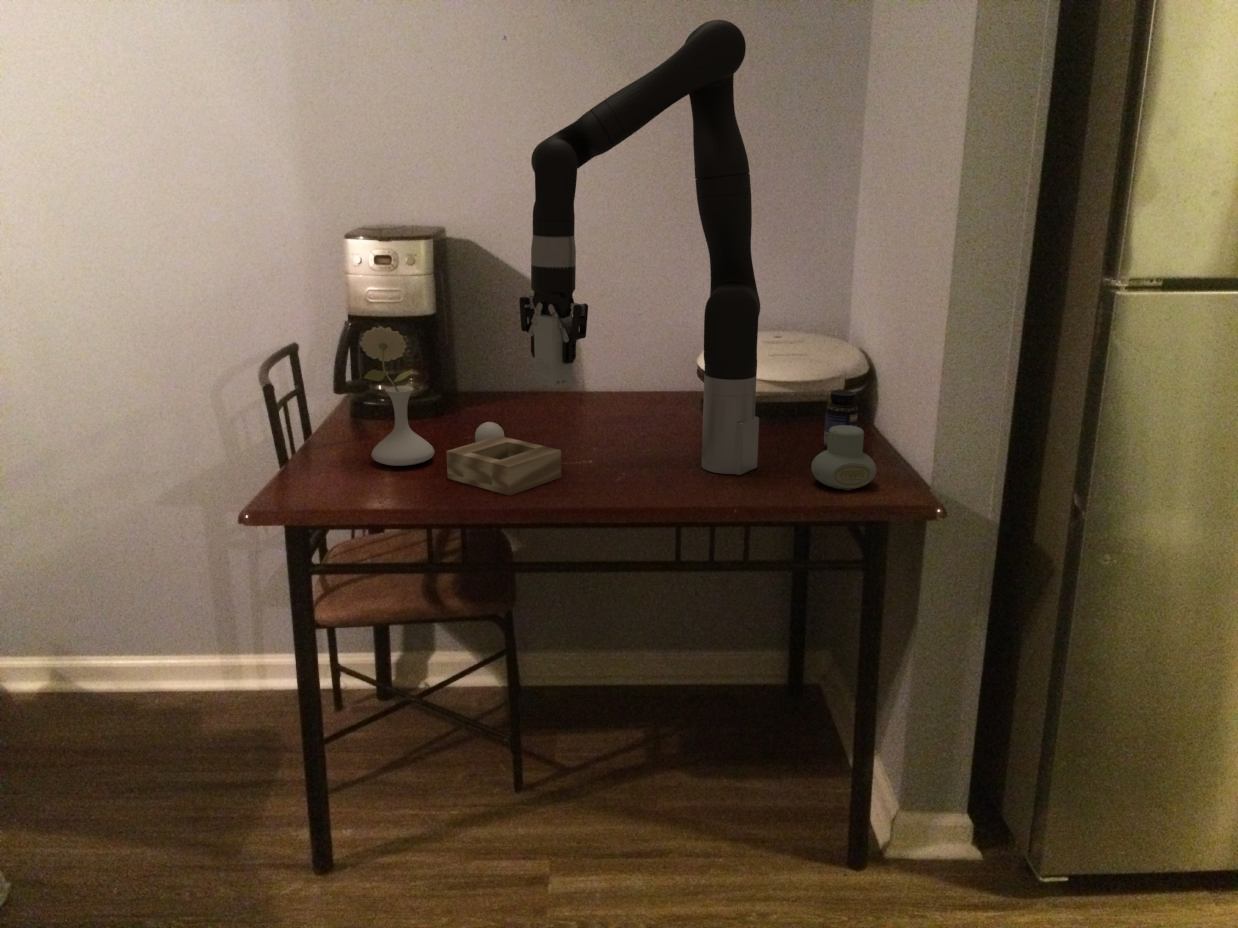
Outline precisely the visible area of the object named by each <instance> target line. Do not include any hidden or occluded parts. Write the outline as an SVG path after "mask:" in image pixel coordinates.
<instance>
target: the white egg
mask: <svg viewBox="0 0 1238 928" xmlns="http://www.w3.org/2000/svg"><path fill="white" fill-rule="evenodd" d="M497 436H503V437H505V433H504V429H503V428H502V426H500V425H499V424H498V423H496V422H493V421H487V422H483V423H481V424H480V425H479V426H478V427H477V428H476V431H475V434H474V439H475V440H474V441H475V443H476V442H479V441H483V440H486V439H490V438H493V437H497ZM468 438H470V436H467V437H465V439H468Z"/></svg>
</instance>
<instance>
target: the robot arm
mask: <svg viewBox="0 0 1238 928" xmlns="http://www.w3.org/2000/svg"><path fill="white" fill-rule="evenodd" d="M746 43H747V42H746V40H745V36H744V34H743V32H742V31H741V29H740V28H739V27H738V26H737V25H736V24H734V23H733V22H731V21H730V20H729V21H728V20H725V19H713V20H709V21H705V22H704V23H702V24H701V25H699V26H698V27H697V28H695V29H694V30H693V31H691V33H690V34H689V35H688V37H686V40H685V42H684V44H683V45H682V46H681V47H679V49H678V50H677V51H675V52H674V53H673V54H672V55H671V56H669V57H668V58H667V59H666V60H665V61H663V62H662V63H661V64H659V65H658V66H656V67H655V68H653V69H652V70H650V71H649V72H647V73H646V74H644V75H643V76H641V77H639V78H638V79H635V80H634V81H632V82H631V83H629V84H627V85H625V86H624V87H622V88H620V89H619V90H618V91H616V92H614V93H612V94H611V95H609V96H607V97H606V98H605V99H604V100H602V101H601V102H599V103H597V104H596V105H595V106H593V107H591V109H589V110H587V111H586V112H584V114H583V115H581V116H580V117H579V118H578V119H576V120H575V121H574V122H572V123H571V124H569V125H567V126H565V127H563V128H562V129H560V130H559V131H556V132H555V133H553V134H552V135H550V136H549V137H547V138H545V139H544V140H542V141H541V142H540V143H538V144H537V145H536V147H535V148H534V149H533V152H532V154H531V159H530V161H531V162H530V163H531V168H532V171H533V172H534V194H535V195H534V196H535V197H534V198H535V199H534V200H535V201H534V203H533V208H532V239H531V247H530V289H531V290H532V291H533V295H525V296H521V297H519V299H518V301H519V315H520V316H519V317H520V328H521V329H520V330H521V332H526V333H528V335H529V337H530V354H531V357H532V358H533V359H535V348H534V325H535V326H536V324H537V316H540V315H549V316H553V317H556V318H557V322H558V323H557V329H558V330H559V331H560V332H561V334H562V337H563V340H564V341H565V342H563V363H565V364H570V363H572V364H573V363H574V362H575V360H576V357H577V341H579V340H582V339H586V337H587V327H588V313H589V305H588V303H577V302H575V301H574V296H573V294H574V292H575V290H576V277H577V276H576V275H577V274H576V267H577V266H576V263H577V261H576V259H577V256H576V255H577V251H576V250H577V249H576V240H575V224H576V223H575V220H576V219H575V215H576V214H575V199H576V198H575V197H576V191H577V190H576V188H577V180H578V169H580V168H581V167H582V166H583V165H585V164H586V163H588V162H589V161H591V160H592V159H594V158H596V157H597V156H601V155H603V154H605V153H607V152H608V151H610V150H612V149H613V148H615V147H616V146H618V145H619V144H621V143H622V142H623V141H625V140H626V139H628V138H630V137H631V136H632V135H634V134H635V133H636V132H638V131H639V130H641V129H642V128H644V126H645V125H647V124H649V122H651V121H652V120H654V119H655V118H656V117H658V116H659V115H661V113H663V112H664V111H666V110H667V109H668V108H670V107H671V106H673V105H674V104H676V103H677V102H679V101H680V100H682V99H683V98H685V97H687V96H689V103H690V108H691V115H692V134H693V135H692V137H693V143H692V144H693V146H692V147H693V160H694V161H693V162H694V179H695V191H696V192H695V193H696V201H697V207H698V213H699V217H700V222H701V227H702V230H703V234H704V238H705V242H706V245H707V250H708V254H709V263H710V264H709V268H710V271H709V272H710V288H709V289H710V291H709V292H710V294H709V298H708V299H707V302H706V303H705V307H704V308H705V309H704V315H703V316H704V318H703V362H704V363H703V364H704V375H703V376H704V378H703V379H704V381H703V406H702V407H703V410H702V411H703V412H702V439H701V440H702V441H701V442H702V443H701V468H702V469H703V470H705V471H708V472H711V473H716V474H721V475H723V474H724V475H738V476H741V475H743V474H745V473H747V472H750V471H752V470H755V469H756V468H757V467H758V457H759V454H758V453H759V428H760V418H759V416H756V398H757V397H756V396H757V394H756V393H757V374H758V372H757V371H758V338H759V337H758V332H759V317H760V313H761V302H760V297H759V293H758V292H759V291H758V288H757V281H756V278H755V271H754V266H753V257H752V222H753V221H752V217H753V216H752V215H753V214H752V213H753V211H752V209H753V208H752V187H751V186H752V185H751V175H750V165H749V158H748V154H747V150H746V146H745V143H744V141H743V137H742V134H741V131H740V127H739V125H738V120H737V117H736V111H735V99H734V97H735V94H734V93H735V92H734V75H735V73H736V72H737V71H738V70H739V69H740V67H741V66H742V64H743V61H744V59H745V56H746V51H747V47H746V45H747V44H746ZM533 315H534V316H533ZM569 316H570V317H572V321H571V322H570V323H563V322H562V320H561V318H562V319H563V318H565V317H569ZM535 318H536V320H535ZM567 328H569V329H570V334H569V333H568V330H567Z"/></svg>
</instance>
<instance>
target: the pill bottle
mask: <svg viewBox="0 0 1238 928" xmlns="http://www.w3.org/2000/svg"><path fill="white" fill-rule="evenodd" d="M856 394H857V393H856V392H854V391H851V390H847V389H846V390H844V389H842V390H841V389H839V390H832V391H830V401H831V402H830V403H828V404H827V405H826V407H825V417H824V418H825V419H824V430H823V431H824V433H823V447H824V448H826V449H827V448H828V435H829V429H830V428H831V427H833V426H838V425H849V426H855V427H858V418H859V416H858V415H859V414H858V413H859V408H858V406H857V405H856V404H855V403H854V402H855V400H856V397H857V396H856Z"/></svg>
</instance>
